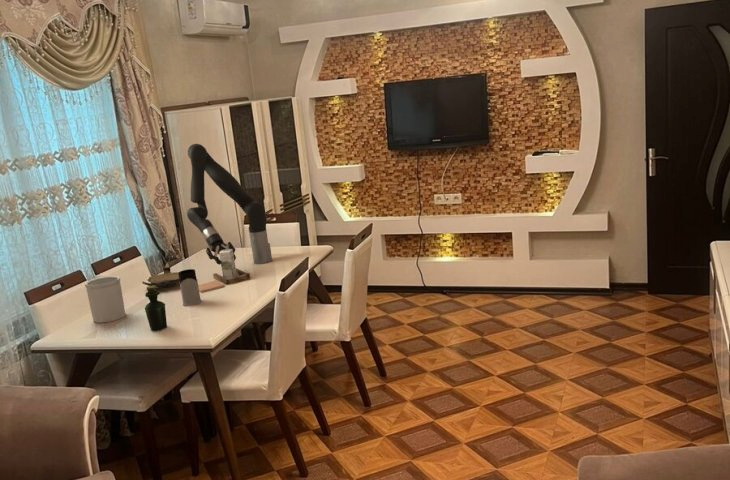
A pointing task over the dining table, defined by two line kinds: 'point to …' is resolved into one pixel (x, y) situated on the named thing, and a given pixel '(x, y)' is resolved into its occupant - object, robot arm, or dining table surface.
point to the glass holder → (189, 287)
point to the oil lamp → (164, 278)
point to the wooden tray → (240, 277)
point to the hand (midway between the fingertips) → (227, 261)
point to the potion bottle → (155, 310)
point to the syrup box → (228, 263)
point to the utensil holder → (105, 298)
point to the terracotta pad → (210, 286)
